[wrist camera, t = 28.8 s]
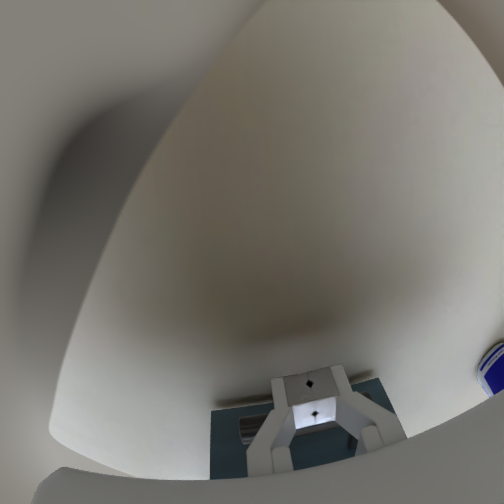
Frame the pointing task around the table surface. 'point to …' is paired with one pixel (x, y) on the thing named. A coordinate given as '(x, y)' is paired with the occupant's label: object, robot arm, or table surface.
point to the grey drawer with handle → (302, 444)
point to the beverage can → (492, 371)
